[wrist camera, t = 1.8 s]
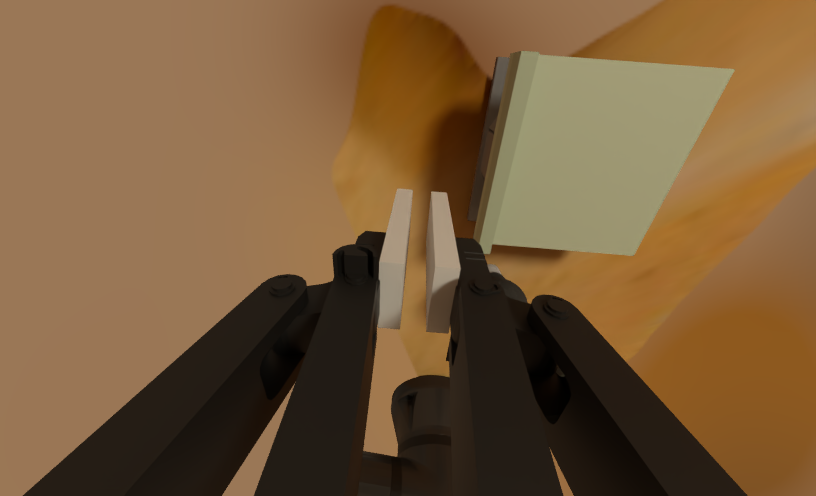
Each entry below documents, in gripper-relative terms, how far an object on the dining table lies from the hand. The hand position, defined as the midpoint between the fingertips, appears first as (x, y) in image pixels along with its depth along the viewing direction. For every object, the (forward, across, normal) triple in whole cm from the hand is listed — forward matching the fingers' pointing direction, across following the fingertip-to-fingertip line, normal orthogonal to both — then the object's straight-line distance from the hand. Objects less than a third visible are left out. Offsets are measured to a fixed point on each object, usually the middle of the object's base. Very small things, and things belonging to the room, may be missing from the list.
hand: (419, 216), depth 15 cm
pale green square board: (+13, -14, 0) cm, 19 cm away
